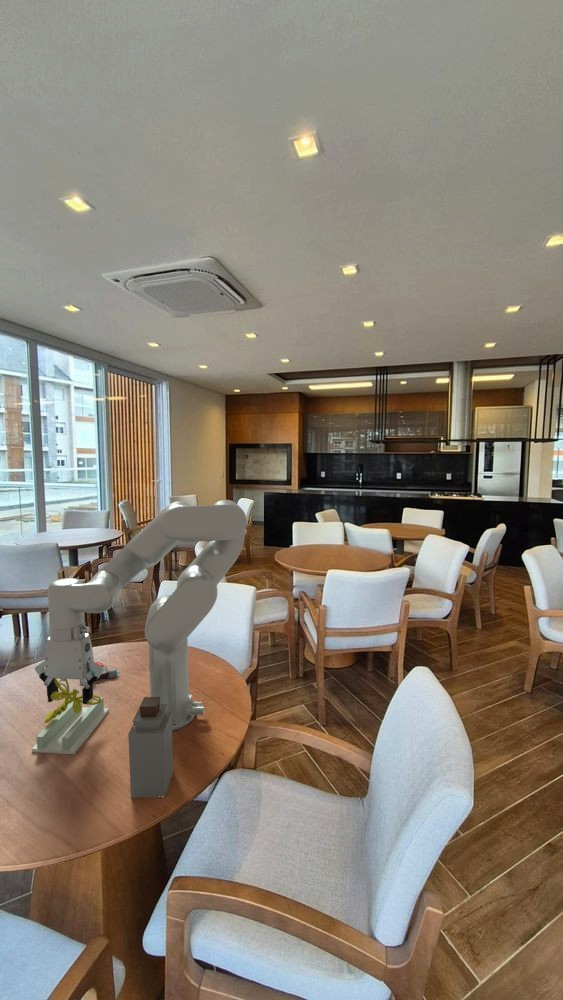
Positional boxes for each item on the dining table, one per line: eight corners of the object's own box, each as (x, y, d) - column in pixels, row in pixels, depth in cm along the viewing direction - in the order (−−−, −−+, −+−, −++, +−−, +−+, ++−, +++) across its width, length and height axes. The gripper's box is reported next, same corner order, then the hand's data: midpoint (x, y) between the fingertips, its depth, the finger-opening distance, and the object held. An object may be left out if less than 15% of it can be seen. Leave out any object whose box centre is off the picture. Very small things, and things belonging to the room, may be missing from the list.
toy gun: (120, 679, 126) (119, 663, 126) (76, 686, 122) (76, 670, 122) (121, 664, 135) (120, 649, 135) (80, 670, 131) (79, 655, 131)
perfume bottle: (173, 771, 89) (170, 691, 87) (165, 797, 82) (162, 711, 80) (141, 772, 89) (138, 692, 87) (130, 798, 82) (127, 712, 80)
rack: (108, 711, 110) (108, 697, 109) (74, 754, 94) (73, 738, 93) (72, 709, 110) (71, 696, 110) (32, 751, 95) (31, 736, 94)
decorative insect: (75, 730, 103) (103, 697, 104) (73, 738, 100) (101, 704, 101) (29, 704, 100) (58, 670, 101) (25, 712, 96) (55, 676, 98)
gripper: (110, 626, 103) (112, 693, 104) (43, 623, 104) (46, 689, 106) (94, 639, 95) (96, 711, 97) (22, 636, 96) (25, 707, 98)
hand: (70, 699), depth 101 cm, fingers closed on decorative insect, 8 cm apart
